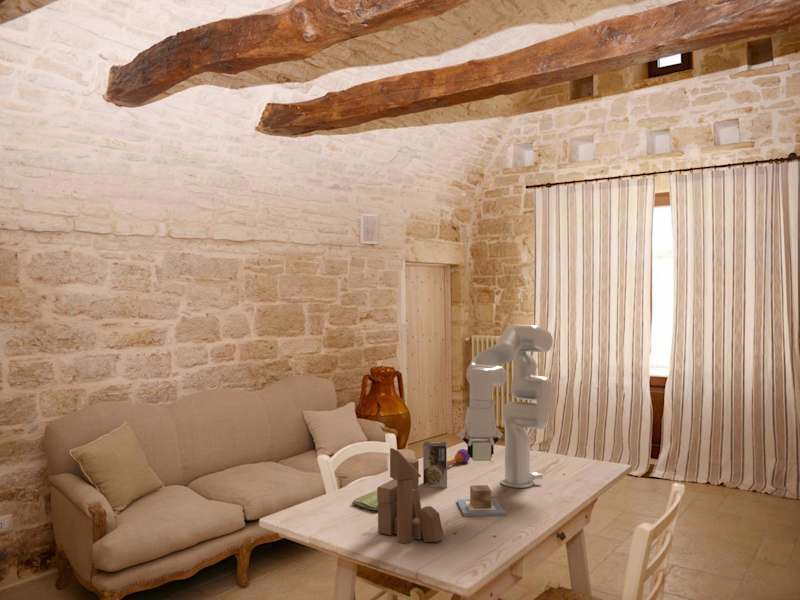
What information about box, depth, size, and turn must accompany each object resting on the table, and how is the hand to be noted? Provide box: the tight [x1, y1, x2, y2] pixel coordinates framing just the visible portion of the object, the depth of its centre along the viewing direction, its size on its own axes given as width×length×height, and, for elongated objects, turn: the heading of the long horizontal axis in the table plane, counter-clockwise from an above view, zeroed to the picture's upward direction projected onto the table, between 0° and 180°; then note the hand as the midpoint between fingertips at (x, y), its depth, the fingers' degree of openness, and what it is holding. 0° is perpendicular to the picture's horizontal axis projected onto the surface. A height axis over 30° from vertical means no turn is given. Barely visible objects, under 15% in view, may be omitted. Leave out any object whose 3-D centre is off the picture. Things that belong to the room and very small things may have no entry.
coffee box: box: [422, 441, 448, 489], centre depth 244 cm, size 9×6×16 cm
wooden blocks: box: [376, 447, 445, 544], centre depth 196 cm, size 24×20×28 cm
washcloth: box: [351, 489, 378, 512], centre depth 224 cm, size 13×18×3 cm
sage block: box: [471, 438, 492, 462], centre depth 218 cm, size 6×6×6 cm
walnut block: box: [469, 484, 492, 509], centre depth 218 cm, size 6×6×6 cm
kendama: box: [447, 448, 470, 468], centre depth 271 cm, size 6×6×20 cm
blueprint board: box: [456, 497, 506, 517], centre depth 218 cm, size 14×14×1 cm
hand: (480, 456), depth 218 cm, fingers closed on sage block, 6 cm apart
